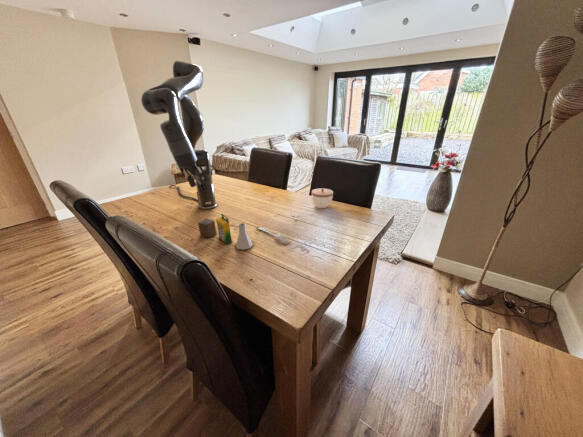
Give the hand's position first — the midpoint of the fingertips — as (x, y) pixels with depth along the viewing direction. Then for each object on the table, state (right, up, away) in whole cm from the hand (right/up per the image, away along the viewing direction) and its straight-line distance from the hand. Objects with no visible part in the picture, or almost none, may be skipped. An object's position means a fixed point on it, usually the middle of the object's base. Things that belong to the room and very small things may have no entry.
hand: (199, 188), depth 95 cm
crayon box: (+8, -22, +10) cm, 25 cm away
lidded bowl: (+56, -5, +45) cm, 72 cm away
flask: (+17, -24, +5) cm, 30 cm away
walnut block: (-1, -20, +14) cm, 24 cm away
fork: (+29, -20, +13) cm, 37 cm away
